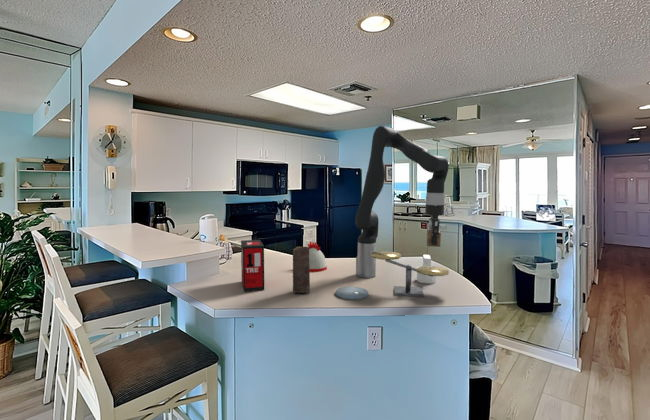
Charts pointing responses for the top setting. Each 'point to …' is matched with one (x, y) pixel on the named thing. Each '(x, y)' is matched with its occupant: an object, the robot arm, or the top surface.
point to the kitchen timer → (316, 258)
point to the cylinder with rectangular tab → (426, 278)
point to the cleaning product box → (252, 265)
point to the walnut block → (429, 239)
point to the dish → (352, 293)
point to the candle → (301, 270)
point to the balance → (409, 273)
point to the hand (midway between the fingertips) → (433, 243)
